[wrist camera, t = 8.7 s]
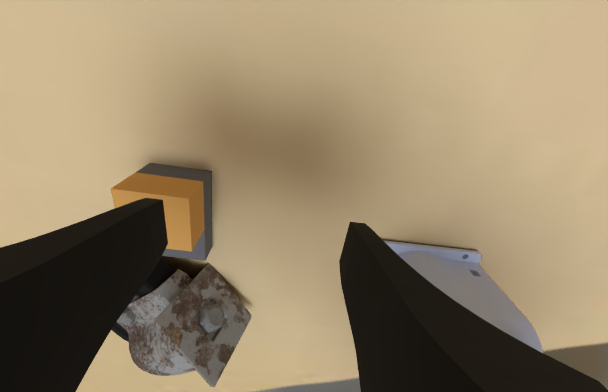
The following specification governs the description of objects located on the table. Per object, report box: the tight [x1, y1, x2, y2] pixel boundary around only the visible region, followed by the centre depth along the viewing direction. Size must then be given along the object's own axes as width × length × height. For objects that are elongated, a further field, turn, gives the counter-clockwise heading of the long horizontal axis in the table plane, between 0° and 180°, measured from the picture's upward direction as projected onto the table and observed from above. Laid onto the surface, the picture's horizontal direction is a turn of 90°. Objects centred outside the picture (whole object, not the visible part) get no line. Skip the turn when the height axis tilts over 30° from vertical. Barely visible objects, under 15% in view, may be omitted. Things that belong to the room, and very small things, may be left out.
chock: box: [111, 163, 212, 260], centre depth 18 cm, size 4×7×4 cm, turn 171°
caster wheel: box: [111, 260, 251, 387], centre depth 22 cm, size 7×11×10 cm
